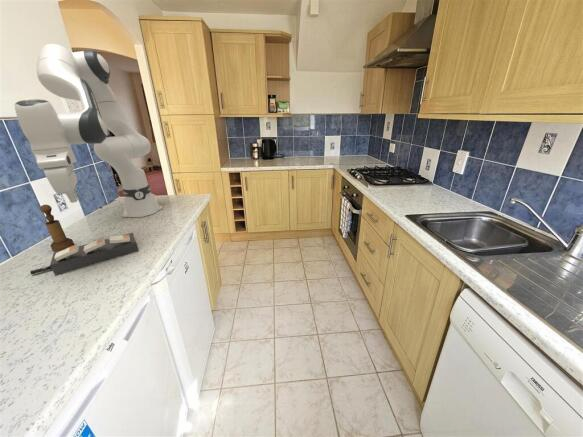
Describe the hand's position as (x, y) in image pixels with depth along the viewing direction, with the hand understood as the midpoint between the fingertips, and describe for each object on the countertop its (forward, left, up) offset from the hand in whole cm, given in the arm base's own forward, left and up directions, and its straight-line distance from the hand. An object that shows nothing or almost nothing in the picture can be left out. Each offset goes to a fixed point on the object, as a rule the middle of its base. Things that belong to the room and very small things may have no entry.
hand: (74, 201), depth 79 cm
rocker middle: (0, +1, -17) cm, 17 cm away
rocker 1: (0, -7, -17) cm, 18 cm away
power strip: (-2, -2, -22) cm, 22 cm away
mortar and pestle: (-20, -11, -22) cm, 32 cm away
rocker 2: (0, +8, -17) cm, 18 cm away
